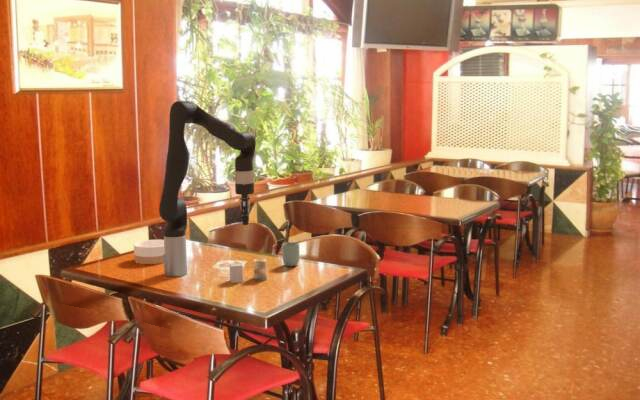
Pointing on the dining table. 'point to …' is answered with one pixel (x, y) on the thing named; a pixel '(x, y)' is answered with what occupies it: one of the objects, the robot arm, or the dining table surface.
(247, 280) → the dining table surface
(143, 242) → the bowl
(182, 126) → the robot arm
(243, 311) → the dining table surface
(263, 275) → the blue canister
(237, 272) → the grey block
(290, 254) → the cup
